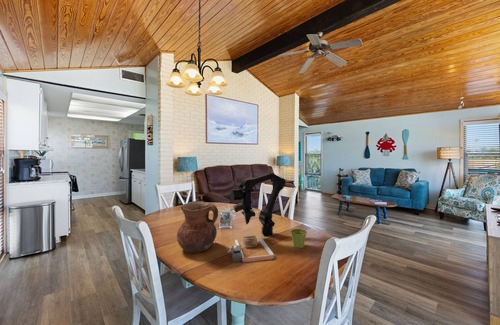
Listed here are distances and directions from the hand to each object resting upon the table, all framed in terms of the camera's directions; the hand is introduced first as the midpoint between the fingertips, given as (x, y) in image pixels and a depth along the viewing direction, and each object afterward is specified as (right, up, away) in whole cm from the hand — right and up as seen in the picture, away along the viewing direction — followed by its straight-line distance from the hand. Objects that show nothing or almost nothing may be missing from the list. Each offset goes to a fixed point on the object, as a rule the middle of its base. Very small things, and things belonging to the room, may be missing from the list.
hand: (247, 223), depth 134 cm
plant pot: (+30, -10, -9) cm, 33 cm away
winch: (-6, -11, -26) cm, 29 cm away
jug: (-28, -10, -12) cm, 32 cm away
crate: (+2, -10, -8) cm, 13 cm away
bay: (+4, -10, -15) cm, 19 cm away
